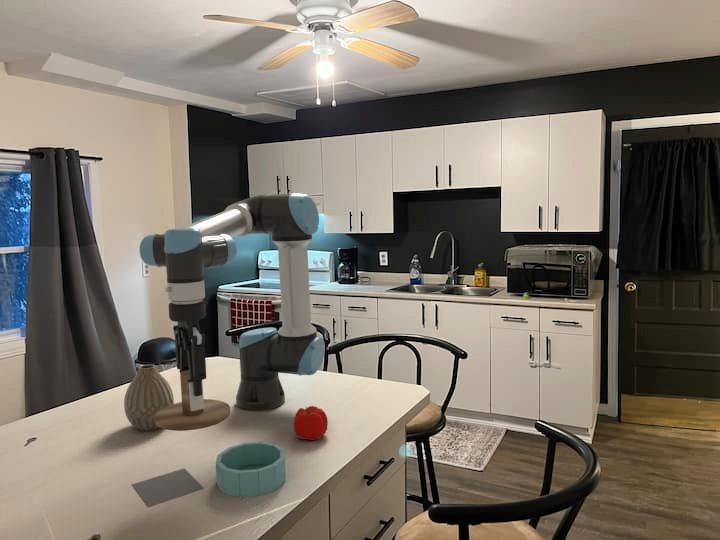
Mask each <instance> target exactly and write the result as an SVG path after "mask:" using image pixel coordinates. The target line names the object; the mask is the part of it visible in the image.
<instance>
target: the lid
mask: <svg viewBox="0 0 720 540" xmlns="http://www.w3.org/2000/svg"><path fill="white" fill-rule="evenodd" d="M179 377H180V391H181V393H180V394H181V401H179V402H175V403H174V404H172V405H170V406H167V407H165V408H163V409H161V410H160V411H158V412H157V413H156V414H155V417H154V421H155V424H156V425H157V426H158V427H160V428H159V429H163V430H168V431H176V432H181V431H183V432H184V431H185V432H187V431H194V430H195V431H196V430H200V429H204V428H205V429H206V428H209V427H212V426H215V425H218V424H220V423H222V422H224V421H226V420H227V419H228V418H229V416H230V415H232V414H231V413H232V409H231V406H230V404H228V403H227V402H225V401H223V400H219V399H218V400H217V399H211V398H210V399H209V398H208V399H207V398H206V399H204V398H203V399H204V408H203V409H199V410H195V411H191V410H190V394H189V383H188V382H187V380H189V379H190V372H189V370H186V371H183V372H181V373H180V372H179Z"/></svg>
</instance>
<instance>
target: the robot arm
mask: <svg viewBox="0 0 720 540" xmlns="http://www.w3.org/2000/svg"><path fill="white" fill-rule="evenodd" d="M319 224H320V215H319V210H318V207H317V205H316V203H315V201H314V199H313V198H312V197H311V196H310V195H308V194H304V193H294V192H293V193H281V194H279V193H277V194H276V193H275V194H272V193H271V194H259V195H254V196H251V197H249V198H245V199H243V200H240V201H236V202H235V203H232V204H230V205H228V206H227V207H225V209H224V210H223V211H222V212H219V213H217V214H214V215H210V216H208V217H205V218H203V219H201V220H199V221H196V222H193V223H191V224H188V225H185V226H183V227H180V228H169V229H167V230H166V231H165V232H164V233H161V234H158V233H155V234H149V235H146V236H144V237H143V239H141V242H140V244H139V255H140V259H141V260H142V262H143V263H144V264H146V265H148V266H150V267H151V266H153V267H158V268H163V267H165V268H166V282H167V284H166V285H167V286H166V287H165V288H164V290H165V292H166V293H167V297H168V301H170V302H169V304H168V317H169V318H168V319H169V320H170V321H172V322H176V323H177V325H176V324H175V325H173V326H172V330H173V334H174V344H175V358H176V361H175V362H176V369H177V370H179V374H180V373H181V372H183V371H186V370H189V372H190V379H189V380H187V382H188V383H189V394H190V410H191V411H195V410H199V409H203V408H204V388H203V386H204V385H203V383H204V382H203V380H206V379H207V364H206V363H207V362H206V360H207V359H206V347H205V346H206V335H205V333H202V331H201V327H200V325H199V321H200V320H203V319H205V318H206V315H207V312H206V301H204V299H205V298H206V290H205V278H204V277H205V276H204V270H208V269H214V268H218V267H219V268H222V267H225V266H227V265H230V264H231V263H232V262H233V261H234V260H235V259H236V256H237V253H238V252H237V251H238V249H237V245H236V242H235V240H234V237H238V238H239V237H240V238H241V237H245V236H247V235H262V234H263V235H267V234H268V235H271V240H272V243H273V244H274V245H276V246H277V254H278V257H277V258H278V271H279V273H278V275H279V288H280V302H281V303H280V305H281V306H280V307H281V308H280V309H281V322H282V323H281V324H282V326H281V327H280V328H279V329H278V330H277V328H276V327H263V328H262V327H260V328H256V329H255V328H254V329H252V330H247V331H245V332H243V333H242V334H241V335H240V336H239V342H238V351H239V368H240V369H239V370H240V382H239V386H238V389H237V392H236V396H235V404H236V405H235V406H236V407H238V408H239V409H240V410H244V411H253V412H254V411H255V412H256V411H257V412H258V411H267V410H272V409H275V408H278V407H281V406H282V405H283V404H284V403H285V402H286V394H285V391H284V388H283V385H282V382H281V379H280V376H279V374H287V375H296V376H297V375H298V376H313V375H315V374H316V373H317V372H318V370H319V369H320V368H321V366H322V363H323V361H324V357H325V351H326V349H325V347H326V346H325V345H326V343H325V341H324V338H323V337H321V336H318V333H317V328H316V327H315V326H314V325H313V324H312V316H311V314H312V313H311V296H310V295H311V294H310V292H311V291H310V275H309V274H310V273H309V256H308V255H309V254H308V252H309V251H308V245H309V244H310V243H311V241H312V240H313V235H314V234H316V233H317V232H318V230H319Z"/></svg>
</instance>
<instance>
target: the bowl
mask: <svg viewBox="0 0 720 540" xmlns="http://www.w3.org/2000/svg"><path fill="white" fill-rule="evenodd" d="M285 451H286V450H285V449H284V448H282V447H281V446H280V445H278V444H276V443H273V442H266V441H253V442H251V441H250V442H242V443H239V444H236V445H233V446H229V447H227V448H225V449H224V450H223V451H221V452H220V453H218V454H217V457H216V461H215V474H216V475H215V479H216V486H217V488H218V489H219V490H220V492H222V493H224V494H226V495H228V496H232V497H240V498H249V497H257V496H263V495H265V494H268V493H271V492H274V491H275V490H277V489H278V488H280V487H281V486H282V485H283V484H284V483H285V480H286V477H287V476H286V452H285Z"/></svg>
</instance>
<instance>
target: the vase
mask: <svg viewBox="0 0 720 540" xmlns="http://www.w3.org/2000/svg"><path fill="white" fill-rule="evenodd" d="M174 397H175V396H174V393H173V390H172V387H171V385H170V384H169V382H168V380H166V378H165V377H164V376H163V375H162V374H161V373H160V372H159V371H158V369H157V367H156V365H155V364H152V363H151V364H149V363H148V364H144V365H143V364H142V365H139V366H138V370H137V373H136V375H134V378H133V379H132V380H131V382H130V383H129V385H128V387H127V389H126V391H125V394H124V400H123V408H124V414H125V417H126V419H127V420H128V422H129V423H130V424H131V425H132V426H133V427H135V428H136V429H137V430H139V431H142V432H149V431H154V430H158V429H161V428H160V427H158V426H157V425H156V424H155V421H154V417H155V414H156V413H157V412H158V411H160V410H161V409H163V408H165V407H167V406H170V405H172V404H175V400H174V399H175V398H174Z"/></svg>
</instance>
